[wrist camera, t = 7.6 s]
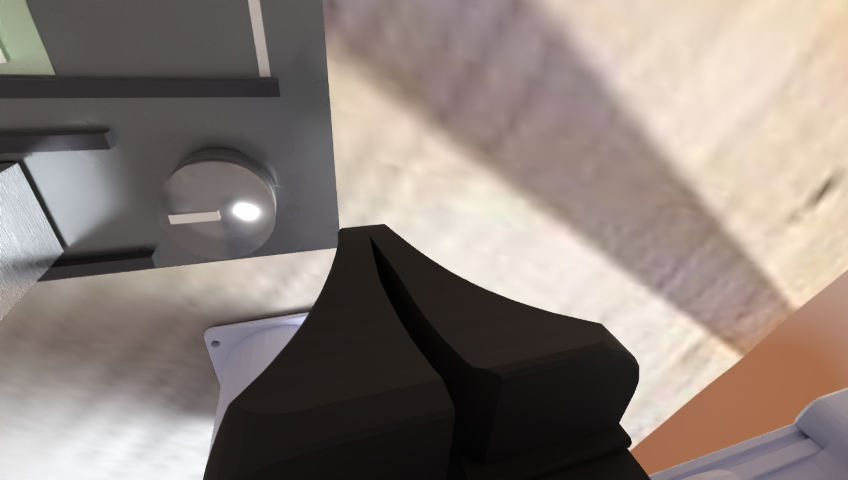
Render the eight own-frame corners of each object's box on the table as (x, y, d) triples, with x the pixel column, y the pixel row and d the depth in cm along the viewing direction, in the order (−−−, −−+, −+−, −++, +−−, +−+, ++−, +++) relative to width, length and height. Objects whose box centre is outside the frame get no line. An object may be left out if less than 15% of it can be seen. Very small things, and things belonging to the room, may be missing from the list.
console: (338, 236, 22) (352, 302, 17) (-22, 274, 17) (-142, 378, 12) (308, -154, 13) (319, -244, 9) (-396, -275, 9) (-1192, -605, 4)
